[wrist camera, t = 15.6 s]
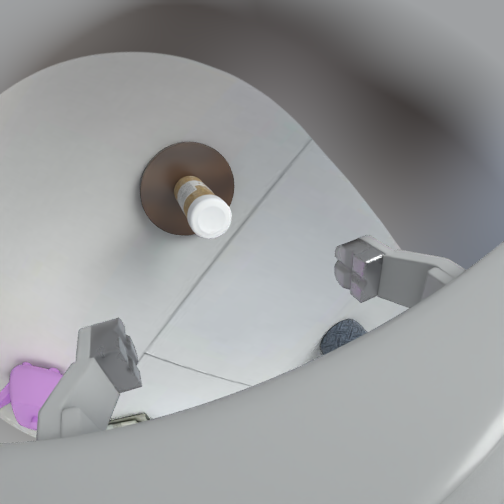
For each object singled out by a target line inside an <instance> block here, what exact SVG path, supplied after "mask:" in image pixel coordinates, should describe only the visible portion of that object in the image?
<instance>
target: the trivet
mask: <svg viewBox="0 0 504 504" xmlns="http://www.w3.org/2000/svg"><path fill="white" fill-rule="evenodd" d="M186 176H194V177H197V178H199V179H200V180H201V181H202V183H204V184H205V185H206V186H207V187H208V188H209V189H210V190H211V191H212V192H213V193H214V194H215V196H218V197H220V198H221V199H222V200H223V201H224V202H225V203H226V204H227V205H228V206H230V204H231V201H232V198H233V193H234V178H233V174H232V171H231V168H230V166H229V164H228V162H227V161H226V160H225V158H224V157H223V156H222V155H221V154H220V153H219V152H217V151H216V150H215V149H213V148H211V147H209V146H207V145H204V144H201V143H197V142H181V143H176V144H173V145H170V146H168V147H166V148H164V149H163V150H161V151H160V152H158V153H157V154H156V155H155V156H154V157H153V158H152V159H151V160H150V162H149V163H148V165H147V166H146V168H145V170H144V173H143V175H142V179H141V184H140V196H141V202H142V205H143V208H144V211H145V213H146V215H147V216H148V217H149V219H150V220H151V221H152V222H153V223H154V224H155V225H156V226H157V227H159V228H160V229H162V230H164V231H166V232H168V233H171V234H175V235H193V234H195V233H194V232H193V230H192V229H191V227H190V225H189V223H188V219H187V217H186V216H185V214H184V212H183V210H182V209H181V207H180V205H179V203H178V201H177V200H176V198H175V195H174V188H175V185H176V184H177V182H178V181H179V180H180V179H182V178H183V177H186Z"/></svg>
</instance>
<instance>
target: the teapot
mask: <svg viewBox="0 0 504 504" xmlns="http://www.w3.org/2000/svg"><path fill="white" fill-rule="evenodd" d="M62 376H63V375H62V374H60V372H59V370H58V369H56V368H50V369H49V370H48V369H45V368H41V367H36V366H32V365H31V364H30V363H28V362H24V363H23V364H22V365H17V366H16V367H14V368H13V370H12V371H11V374H10V381H9V383H8V384H7V385H6V386H5V388H4V389H3V390H2V391H1V392H0V408H2V407H3V406H5V405H7V404H8V403H10V402H11V405H12V409H13V412H14V415H15V417H16V420H17V422H18V423H19V424H20V425H21V426H24V427H26V428H29V429H33V430H37V421H38V412H39V410H40V409H41V407H42V406H43V404H44V403H45V401H46V400H47V398H48V397H49V395H50V394H51V392H52V391H53V389H54V388H55V386H56V385H57V384H58V382H59V381H60V379H61V378H62Z"/></svg>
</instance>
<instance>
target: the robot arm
mask: <svg viewBox="0 0 504 504" xmlns="http://www.w3.org/2000/svg"><path fill="white" fill-rule="evenodd" d="M335 257H336V258H337V260H338V261H337V263H336V264H335V266H334V268H335V277H336V280H337V281H338V283H339V284H340V285H341V286H342V287H343V288H346V289H350V294H351V295H352V296H353V297H354V298H356V299H357V300H358V301H359V302H360V303H362V302H364V301H367V300H369V299H371V298H373V297H375V296H377V295H378V297H380V298H383V299H386V300H389V301H392V302H394V303H397V304H400V305H403V306H405V307H408V308H409V309H407V310H406V311H404V312H403V313H401V314H399V315H398V316H396V317H394V318H392V319H391V320H389V321H387V322H386V323H384V324H382V325H380V326H379V327H377V328H375V329H373V330H371V331H369V332H368V333H366V334H364V335H362V336H360V337H358V338H357V339H355V340H353V341H351V342H349V343H347V344H345V345H343V346H341V347H339V348H337V349H335V350H333V351H331V352H329V353H327V354H325V355H323V356H321V357H319V358H317V359H315V360H312V361H310V362H308V363H306V364H304V365H302V366H299V367H297V368H295V369H293V370H290V371H288V372H286V373H283V374H281V375H279V376H276V377H274V378H272V379H269V380H267V381H264V382H262V383H259V384H257V385H254V386H252V387H249V388H247V389H244V390H241V391H239V392H236V393H233V394H231V395H228V396H225V397H222V398H219V399H216V400H214V401H211V402H208V403H205V404H202V405H199V406H195V407H192V408H189V409H186V410H183V411H179V412H176V413H173V414H169V415H166V416H162V417H158V418H155V419H151V420H147V421H143V422H139V423H135V424H131V425H127V426H122V427H118V428H113V429H108V430H106V428H107V426H108V423H109V421H110V418H111V416H112V413H113V411H114V408H115V406H116V403H117V401H118V398H119V396H120V394H119V393H122V392H125V391H129V390H132V389H136V388H139V387H142V382H141V376H140V371H139V369H138V368H137V366H136V365H137V363H138V357H137V353H136V349H135V347H134V344H133V342H132V340H131V338H130V336H128V335H126V334H125V326H124V324H123V322H122V321H121V319H120V318H116V319H112V320H109V321H105V322H102V323H98V324H94V325H91V326H87V327H84V328H81V329H80V330H79V332H78V341H77V352H76V362H74V363H72V364H71V365H70V367H69V368H68V369H67V371H66V372H65V374H64V375H63V376H62V378H61V379H60V381H59V382H58V384H57V385H56V386H55V388H54V389H53V391H52V392H51V394H50V395H49V397H48V398H47V400H46V401H45V403H44V404H43V406H42V407H41V409H40V410H39V412H38V421H37V440H36V441H28V442H16V443H0V504H504V241H503V242H502V243H501V244H500V245H498V246H497V247H496V248H495V249H494V250H492V251H491V252H490V253H488V254H487V255H486V256H484V257H483V258H482V259H481V260H479V261H478V262H477V263H475V264H474V265H473V266H471V267H470V268H469V269H467V270H465V269H464V268H462V267H460V266H459V265H457V264H456V263H454V262H452V261H451V260H449V259H447V258H442V257H437V256H431V255H426V254H420V253H415V252H409V251H404V250H398V249H397V250H393V249H392V248H390V247H389V246H387V245H385V244H384V243H382V242H380V241H379V240H377V239H375V238H374V237H372V236H370V235H365V236H362V237H360V238H357V239H356V240H353V241H350V242H347V243H345V244H342V245H339V246H337V247H336V249H335Z"/></svg>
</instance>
